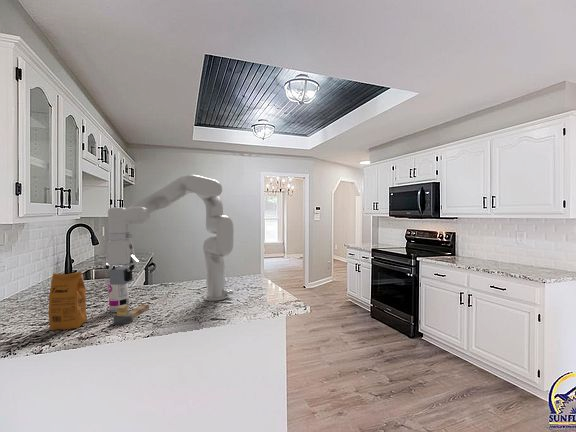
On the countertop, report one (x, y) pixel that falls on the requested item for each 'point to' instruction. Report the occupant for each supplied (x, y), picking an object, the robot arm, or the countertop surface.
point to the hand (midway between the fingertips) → (121, 280)
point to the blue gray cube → (118, 276)
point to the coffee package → (67, 301)
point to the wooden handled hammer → (128, 314)
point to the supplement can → (118, 296)
